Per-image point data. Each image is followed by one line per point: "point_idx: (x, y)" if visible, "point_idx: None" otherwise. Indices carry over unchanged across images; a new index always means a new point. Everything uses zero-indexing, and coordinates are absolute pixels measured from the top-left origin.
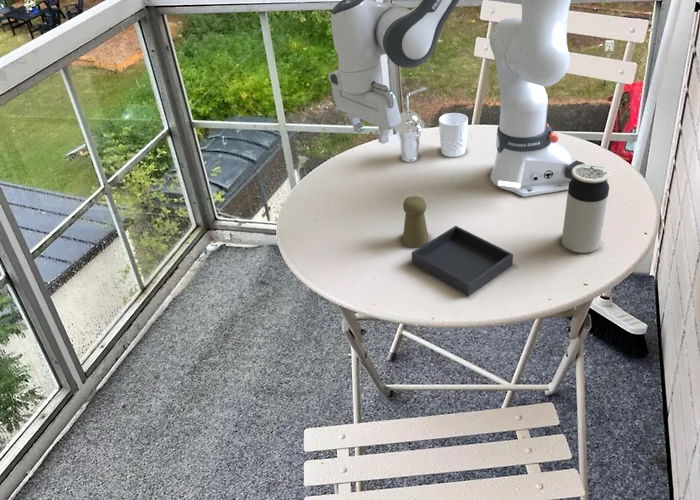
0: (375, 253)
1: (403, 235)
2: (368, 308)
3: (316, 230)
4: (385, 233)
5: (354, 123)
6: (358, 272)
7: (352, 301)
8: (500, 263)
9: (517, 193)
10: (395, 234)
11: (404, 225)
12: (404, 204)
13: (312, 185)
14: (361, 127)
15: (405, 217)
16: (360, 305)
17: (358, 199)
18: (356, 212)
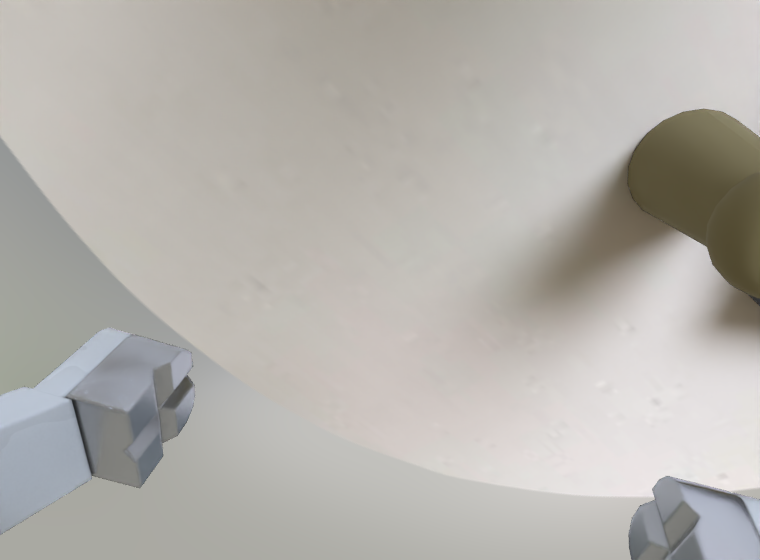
0: (582, 314)
1: (651, 212)
2: None
3: (315, 324)
4: (540, 204)
5: (65, 486)
6: (592, 406)
7: None
8: None
9: None
10: (582, 185)
11: (675, 226)
12: (750, 293)
13: (28, 114)
14: (156, 392)
15: (704, 244)
16: None
17: (260, 72)
18: (335, 159)
